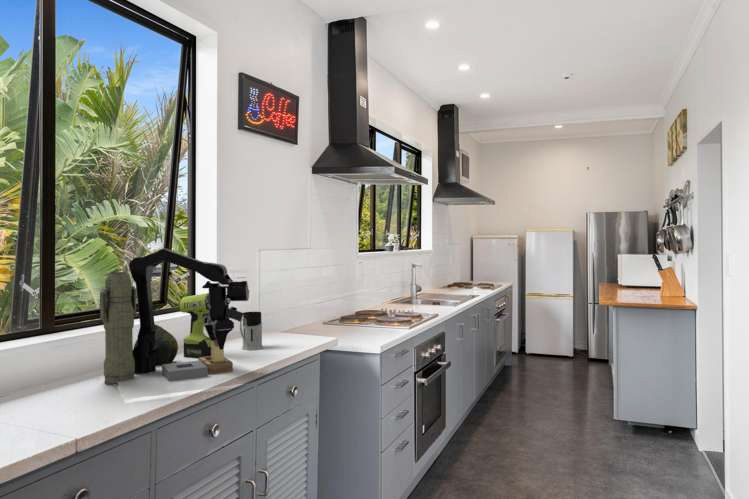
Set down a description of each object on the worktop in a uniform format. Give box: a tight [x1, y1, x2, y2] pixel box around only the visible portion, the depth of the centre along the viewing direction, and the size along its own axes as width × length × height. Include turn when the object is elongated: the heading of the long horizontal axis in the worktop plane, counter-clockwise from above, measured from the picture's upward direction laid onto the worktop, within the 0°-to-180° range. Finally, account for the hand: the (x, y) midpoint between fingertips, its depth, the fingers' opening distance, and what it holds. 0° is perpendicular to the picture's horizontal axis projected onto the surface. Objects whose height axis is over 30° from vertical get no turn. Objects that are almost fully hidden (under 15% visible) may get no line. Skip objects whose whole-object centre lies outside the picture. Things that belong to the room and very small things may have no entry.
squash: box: [133, 324, 179, 366], centre depth 200 cm, size 14×15×15 cm
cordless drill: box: [179, 292, 232, 359], centre depth 213 cm, size 23×7×25 cm, turn 70°
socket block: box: [161, 359, 209, 382], centre depth 180 cm, size 12×12×4 cm
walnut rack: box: [198, 356, 234, 375], centre depth 189 cm, size 14×8×4 cm, turn 30°
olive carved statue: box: [99, 271, 137, 386], centre depth 175 cm, size 9×12×35 cm
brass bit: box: [211, 340, 225, 364], centre depth 186 cm, size 3×3×10 cm
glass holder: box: [239, 311, 264, 351], centre depth 227 cm, size 9×14×15 cm, turn 164°
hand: (217, 347), depth 186 cm, fingers open, 9 cm apart
